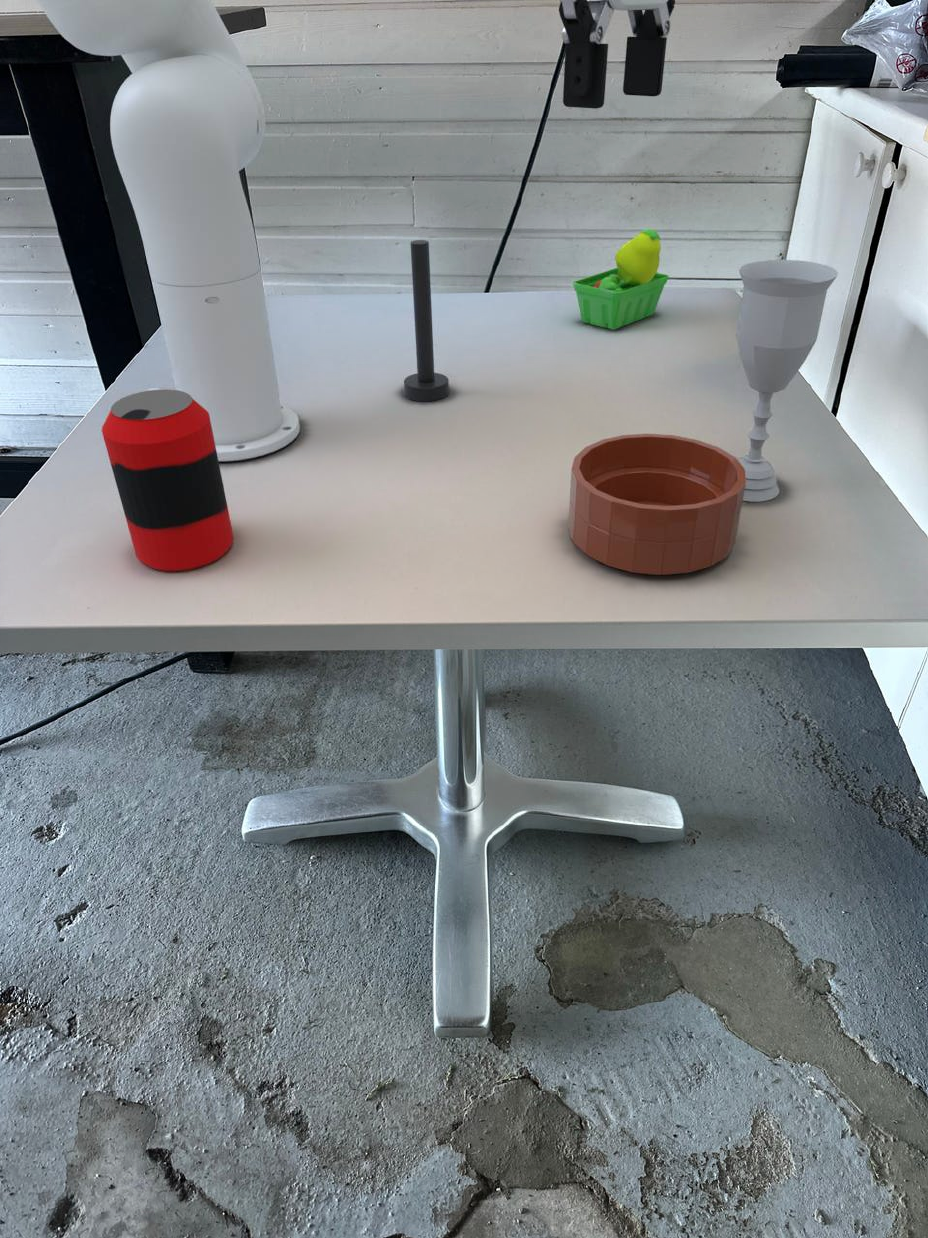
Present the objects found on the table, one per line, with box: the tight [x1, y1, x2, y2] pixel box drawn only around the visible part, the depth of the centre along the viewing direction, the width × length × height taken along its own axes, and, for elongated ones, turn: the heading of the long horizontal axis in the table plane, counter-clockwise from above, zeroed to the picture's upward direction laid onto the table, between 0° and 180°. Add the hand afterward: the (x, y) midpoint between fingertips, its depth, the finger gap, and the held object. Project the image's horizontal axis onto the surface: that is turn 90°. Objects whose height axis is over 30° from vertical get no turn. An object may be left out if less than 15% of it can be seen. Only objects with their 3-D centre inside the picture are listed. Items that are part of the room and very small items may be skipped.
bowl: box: [567, 433, 746, 576], centre depth 69 cm, size 13×13×6 cm
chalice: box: [735, 259, 839, 503], centre depth 72 cm, size 7×7×18 cm
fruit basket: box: [572, 228, 670, 331], centre depth 113 cm, size 11×9×11 cm
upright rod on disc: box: [403, 239, 450, 402], centre depth 92 cm, size 5×5×16 cm
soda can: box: [101, 388, 234, 572], centre depth 67 cm, size 8×8×12 cm
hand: (613, 100), depth 69 cm, fingers open, 9 cm apart
